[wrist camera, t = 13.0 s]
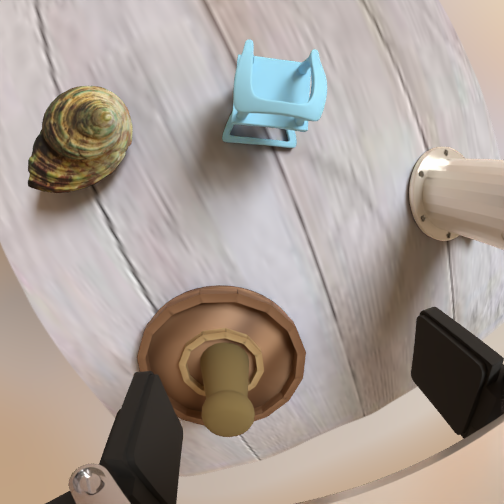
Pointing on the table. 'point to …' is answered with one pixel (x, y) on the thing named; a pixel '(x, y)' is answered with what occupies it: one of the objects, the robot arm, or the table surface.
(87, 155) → the seashell
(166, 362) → the ring tray
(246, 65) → the chair
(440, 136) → the table surface
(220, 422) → the cork
